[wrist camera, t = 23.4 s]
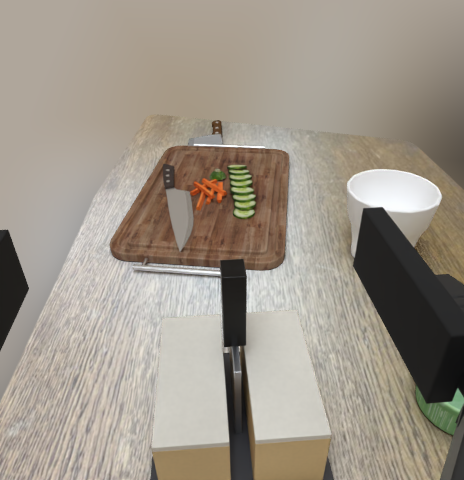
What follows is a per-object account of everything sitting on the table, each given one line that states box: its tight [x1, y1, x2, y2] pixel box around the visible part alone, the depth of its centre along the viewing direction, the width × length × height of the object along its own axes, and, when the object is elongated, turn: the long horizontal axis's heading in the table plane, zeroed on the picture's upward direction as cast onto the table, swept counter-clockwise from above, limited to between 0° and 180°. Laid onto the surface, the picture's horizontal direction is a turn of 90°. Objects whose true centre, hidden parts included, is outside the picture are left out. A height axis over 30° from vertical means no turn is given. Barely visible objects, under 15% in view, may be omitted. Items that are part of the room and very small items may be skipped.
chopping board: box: [110, 144, 289, 276], centre depth 79 cm, size 45×27×3 cm, turn 173°
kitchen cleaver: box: [188, 120, 223, 146], centre depth 103 cm, size 24×1×10 cm
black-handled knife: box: [220, 259, 247, 433], centre depth 40 cm, size 8×2×17 cm, turn 4°
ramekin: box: [416, 385, 464, 435], centre depth 43 cm, size 9×9×4 cm
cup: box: [347, 169, 442, 258], centre depth 63 cm, size 12×12×11 cm
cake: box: [151, 310, 334, 480], centre depth 42 cm, size 16×16×8 cm
